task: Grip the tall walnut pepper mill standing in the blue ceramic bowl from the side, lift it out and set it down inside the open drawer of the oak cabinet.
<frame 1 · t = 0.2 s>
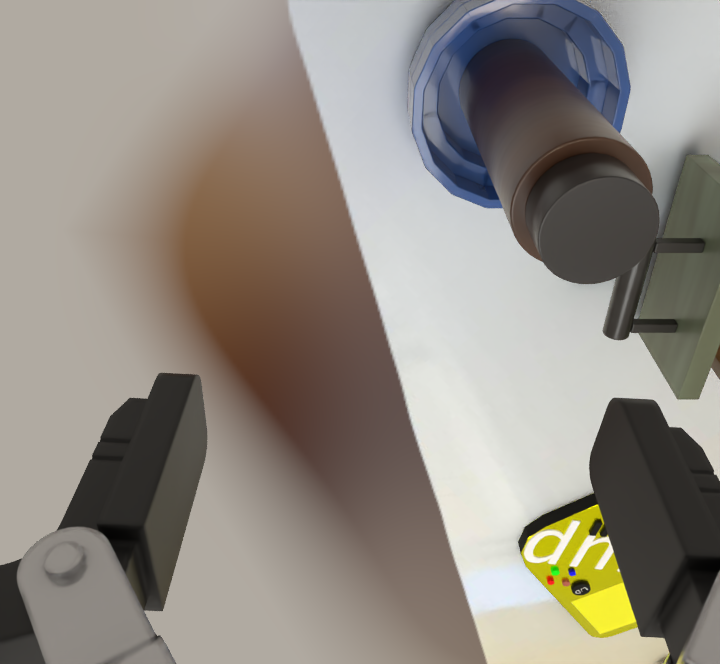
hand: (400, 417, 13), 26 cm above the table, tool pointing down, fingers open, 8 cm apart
pepper mill: (505, 88, 34), resting on bowl
game console: (607, 561, 58), on the table
bowl: (504, 86, 35), on the table
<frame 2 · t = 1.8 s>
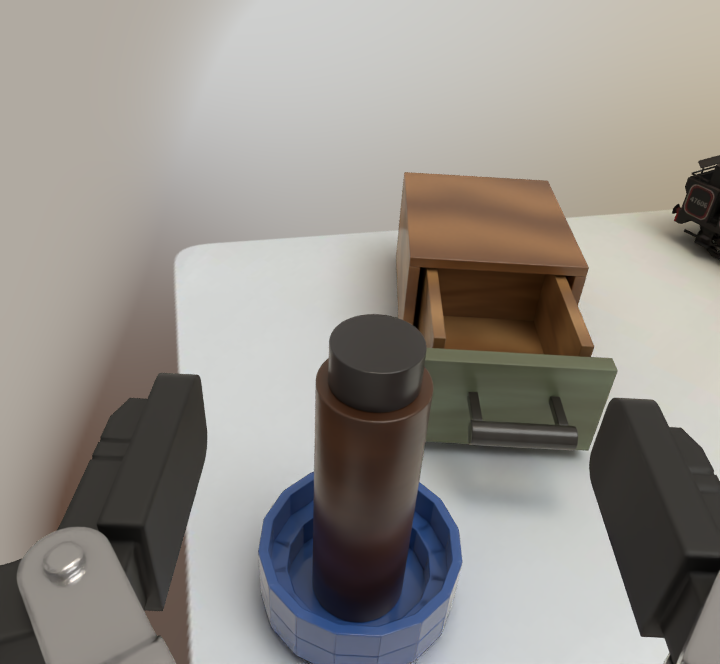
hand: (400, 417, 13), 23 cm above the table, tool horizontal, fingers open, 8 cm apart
drawer: (499, 358, 46), point 4 cm above the table, slide at 9.0 cm
pepper mill: (357, 580, 36), resting on bowl
cabinet: (470, 304, 58), on the table
bowl: (357, 585, 36), on the table
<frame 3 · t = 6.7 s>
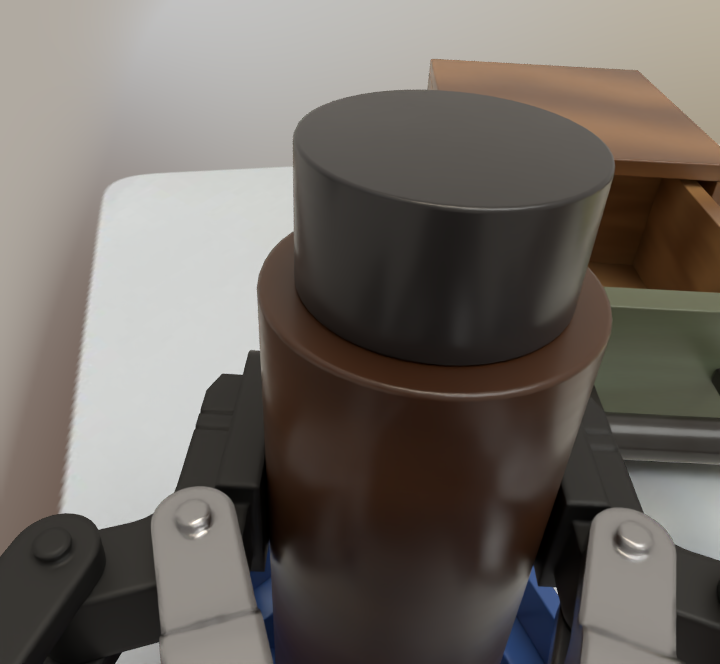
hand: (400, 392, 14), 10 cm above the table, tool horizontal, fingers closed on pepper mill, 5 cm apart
drawer: (604, 311, 27), point 4 cm above the table, slide at 9.0 cm
cabinet: (528, 248, 40), on the table
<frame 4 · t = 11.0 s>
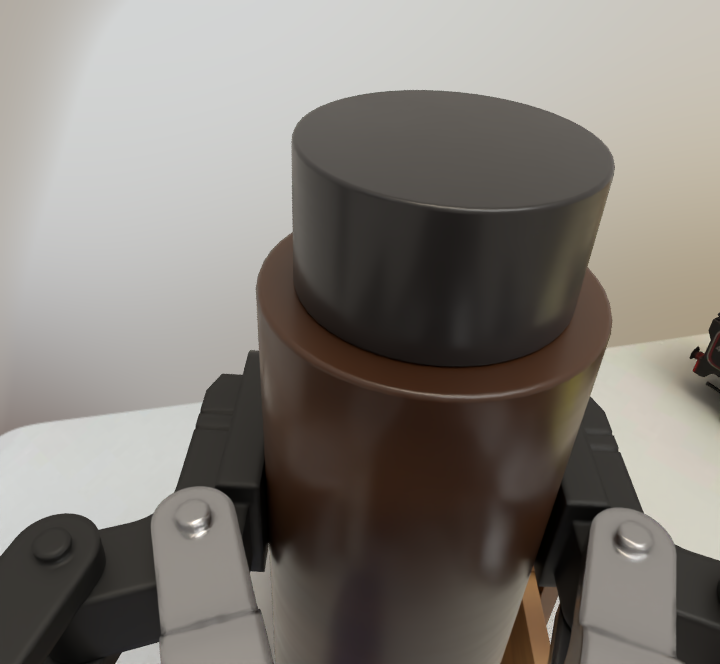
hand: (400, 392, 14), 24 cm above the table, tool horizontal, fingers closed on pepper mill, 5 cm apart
cabinet: (401, 536, 40), on the table
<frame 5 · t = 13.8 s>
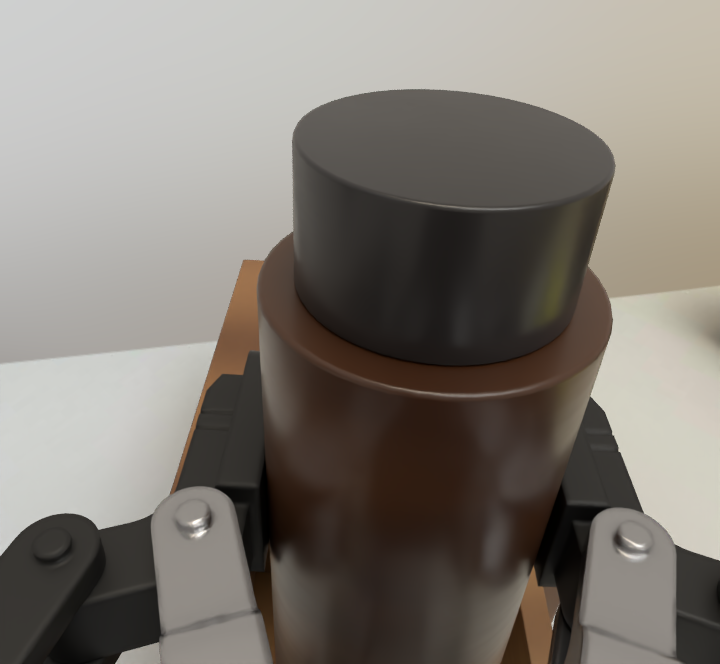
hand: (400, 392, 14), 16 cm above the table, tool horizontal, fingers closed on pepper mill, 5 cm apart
cabinet: (364, 510, 31), on the table
when the fingers open (12 cm above the table, at t = 15.5 s): pepper mill stays where it is, resting on drawer.
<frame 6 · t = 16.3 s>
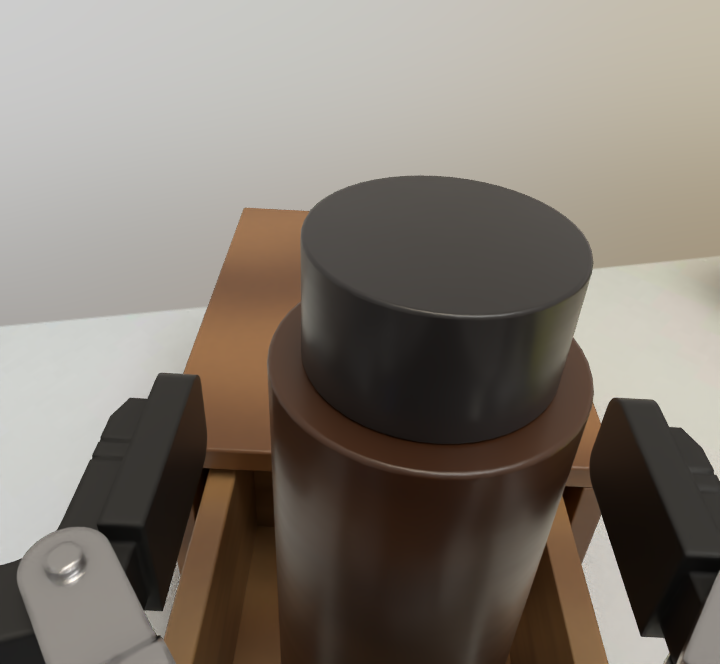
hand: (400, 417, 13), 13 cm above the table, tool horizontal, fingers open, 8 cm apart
cabinet: (372, 470, 29), on the table
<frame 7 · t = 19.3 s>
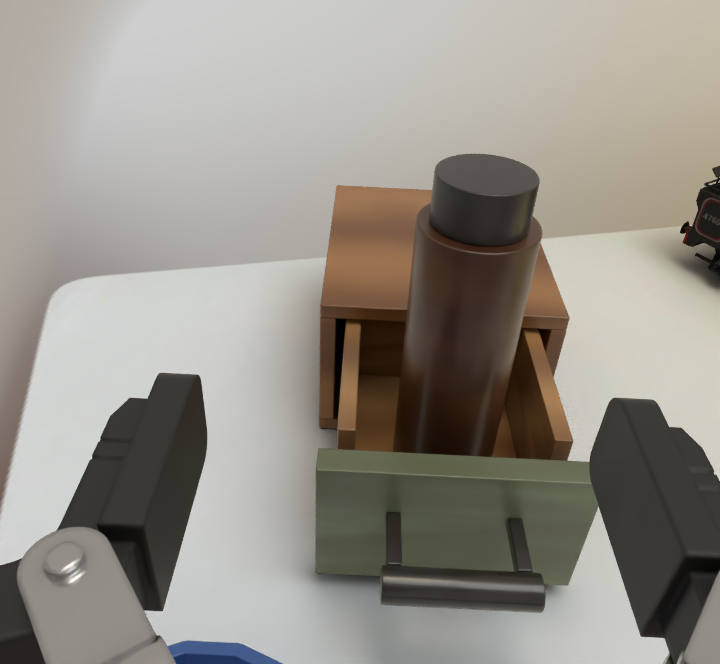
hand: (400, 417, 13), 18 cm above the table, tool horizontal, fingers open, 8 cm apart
drawer: (443, 448, 32), point 4 cm above the table, slide at 8.9 cm, touching pepper mill
pepper mill: (438, 472, 34), point 2 cm above the table, touching drawer
cabinet: (422, 355, 45), on the table
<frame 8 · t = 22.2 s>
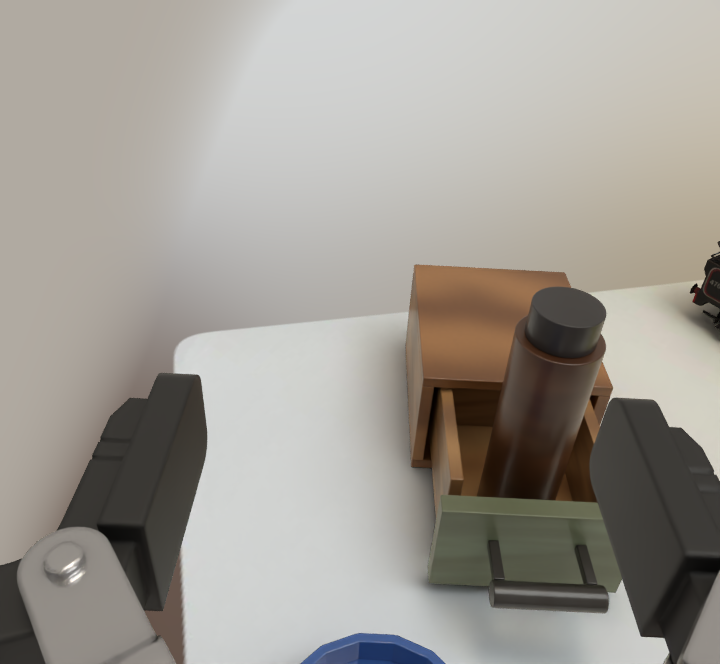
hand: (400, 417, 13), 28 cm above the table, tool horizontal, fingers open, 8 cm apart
drawer: (519, 489, 43), point 4 cm above the table, slide at 8.9 cm, touching pepper mill
pepper mill: (512, 505, 45), point 2 cm above the table, touching drawer
cabinet: (484, 404, 56), on the table
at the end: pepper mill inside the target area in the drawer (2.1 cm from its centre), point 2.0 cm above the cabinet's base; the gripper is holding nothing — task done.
